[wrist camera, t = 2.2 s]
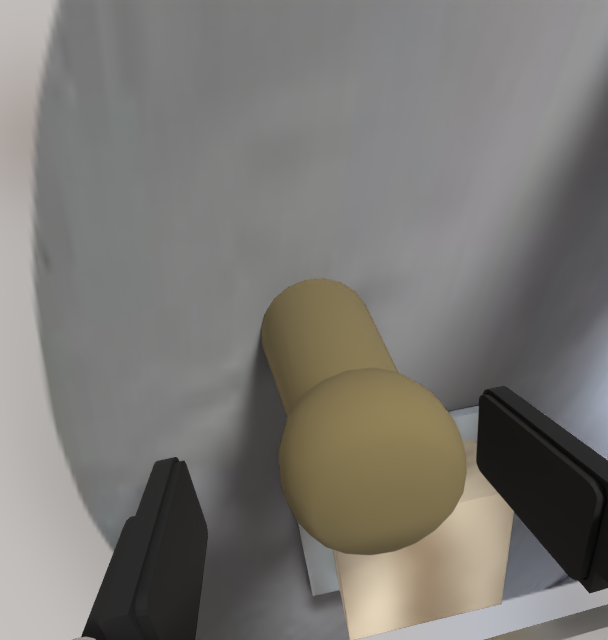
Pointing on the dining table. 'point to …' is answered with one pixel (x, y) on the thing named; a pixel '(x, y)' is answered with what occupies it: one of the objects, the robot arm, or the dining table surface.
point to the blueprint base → (424, 560)
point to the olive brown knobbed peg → (356, 427)
